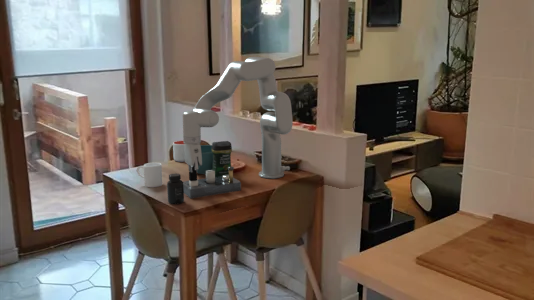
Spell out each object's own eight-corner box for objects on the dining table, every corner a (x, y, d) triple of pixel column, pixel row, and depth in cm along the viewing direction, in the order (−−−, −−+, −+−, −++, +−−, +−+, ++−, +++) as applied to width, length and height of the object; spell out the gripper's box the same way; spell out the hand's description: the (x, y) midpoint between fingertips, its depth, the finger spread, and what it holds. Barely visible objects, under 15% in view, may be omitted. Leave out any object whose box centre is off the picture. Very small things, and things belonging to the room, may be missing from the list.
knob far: (196, 189, 236) (196, 178, 235) (199, 191, 232) (199, 180, 231) (188, 190, 234) (187, 179, 233) (191, 193, 231) (190, 181, 229)
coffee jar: (215, 182, 250) (215, 144, 246) (210, 177, 257) (209, 140, 253) (234, 179, 254) (234, 142, 250) (228, 175, 261) (227, 139, 257)
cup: (195, 159, 293) (195, 141, 290) (183, 163, 284) (183, 145, 282) (181, 157, 298) (181, 139, 295) (169, 160, 290) (169, 143, 287)
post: (232, 181, 238) (232, 166, 236) (234, 182, 235) (234, 167, 234) (227, 181, 236) (226, 166, 235) (229, 183, 234) (229, 168, 233)
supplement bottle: (185, 199, 225) (184, 172, 222) (183, 204, 218) (182, 177, 216) (169, 199, 225) (167, 172, 222) (166, 204, 218) (165, 177, 215)
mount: (229, 183, 248) (229, 171, 247) (241, 190, 237) (240, 178, 236) (180, 190, 237) (180, 178, 236) (190, 198, 226) (190, 185, 225)
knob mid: (213, 180, 239) (212, 169, 238) (216, 182, 235) (216, 171, 234) (204, 181, 237) (204, 170, 236) (208, 183, 234) (207, 172, 232)
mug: (140, 181, 251) (139, 161, 248) (164, 182, 249) (163, 162, 247) (134, 186, 243) (132, 166, 241) (159, 187, 241) (158, 167, 239)
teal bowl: (180, 171, 268) (179, 148, 265) (209, 165, 279) (208, 143, 277) (200, 179, 254) (199, 154, 252) (230, 172, 266) (229, 149, 263)
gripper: (206, 142, 223) (207, 183, 227) (194, 135, 236) (195, 175, 240) (189, 143, 220) (190, 185, 224) (178, 137, 233) (179, 177, 237)
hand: (193, 180), depth 232 cm, fingers closed
